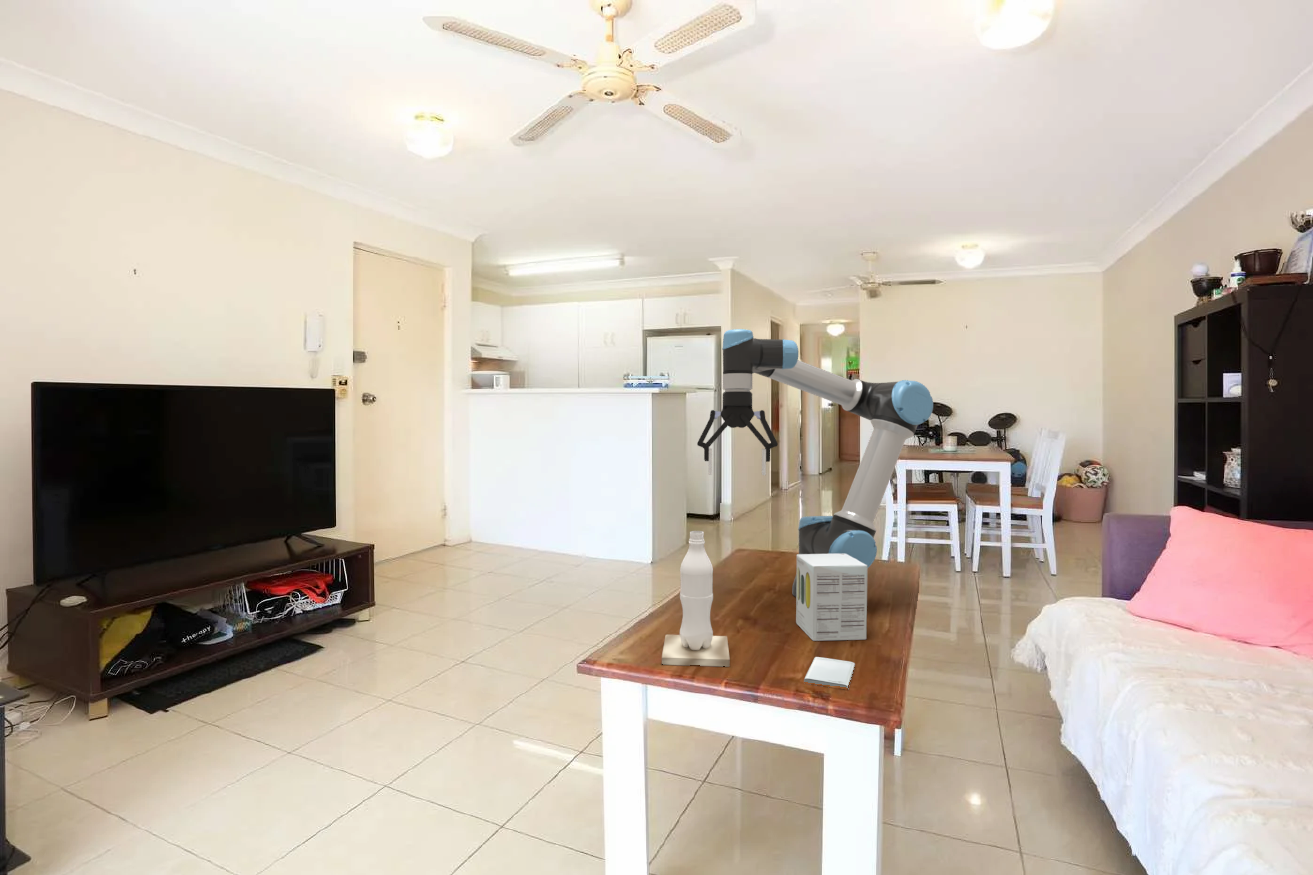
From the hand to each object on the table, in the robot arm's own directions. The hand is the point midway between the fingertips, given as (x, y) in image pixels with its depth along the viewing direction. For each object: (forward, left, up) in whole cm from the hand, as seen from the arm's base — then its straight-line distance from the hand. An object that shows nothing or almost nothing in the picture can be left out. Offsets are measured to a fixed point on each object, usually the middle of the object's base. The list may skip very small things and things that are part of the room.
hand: (736, 474), depth 163 cm
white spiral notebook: (-17, +36, -38) cm, 54 cm away
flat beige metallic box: (+10, +26, -37) cm, 46 cm away
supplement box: (-22, +9, -37) cm, 44 cm away
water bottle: (+10, +26, -35) cm, 45 cm away
